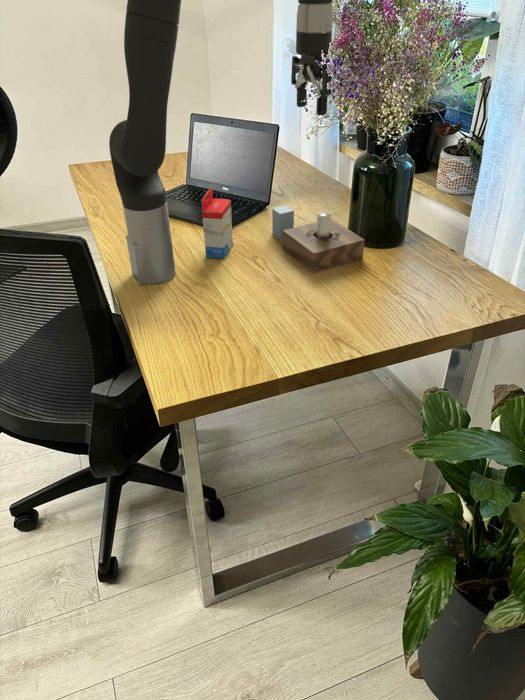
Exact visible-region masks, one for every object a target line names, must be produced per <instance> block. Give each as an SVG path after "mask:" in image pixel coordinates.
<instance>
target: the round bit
mask: <svg viewBox="0 0 525 700" xmlns="http://www.w3.org/2000/svg"><path fill="white" fill-rule="evenodd" d="M331 219H332V214H331V213H329V212H325V211H323V212H318V213H317V215H316V222H317V231H316V238H317V239H329V238H330V224H331Z"/></svg>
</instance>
